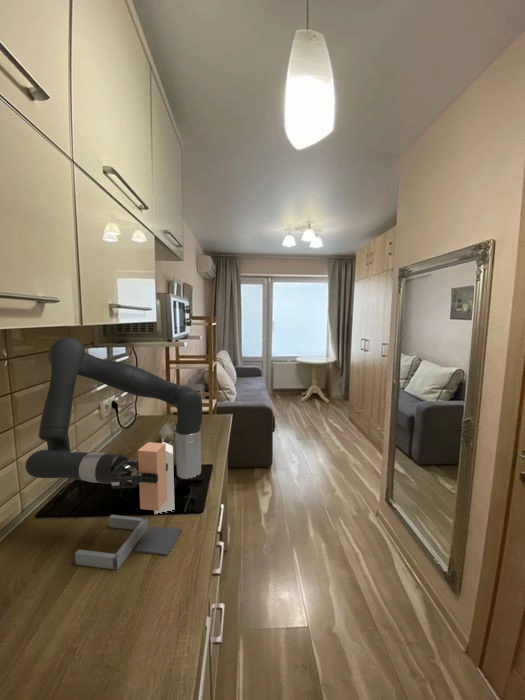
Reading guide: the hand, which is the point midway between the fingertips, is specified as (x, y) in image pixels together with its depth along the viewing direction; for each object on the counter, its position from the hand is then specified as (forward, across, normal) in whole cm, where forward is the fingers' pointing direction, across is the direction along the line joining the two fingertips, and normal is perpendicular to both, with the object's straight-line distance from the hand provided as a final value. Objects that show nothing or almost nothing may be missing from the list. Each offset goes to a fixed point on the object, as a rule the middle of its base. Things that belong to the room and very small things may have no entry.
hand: (162, 472), depth 80 cm
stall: (-13, -3, +20) cm, 24 cm away
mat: (-2, 0, +20) cm, 20 cm away
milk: (-7, +14, +20) cm, 25 cm away
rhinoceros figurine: (-26, +59, +20) cm, 68 cm away
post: (-3, 0, +9) cm, 9 cm away
